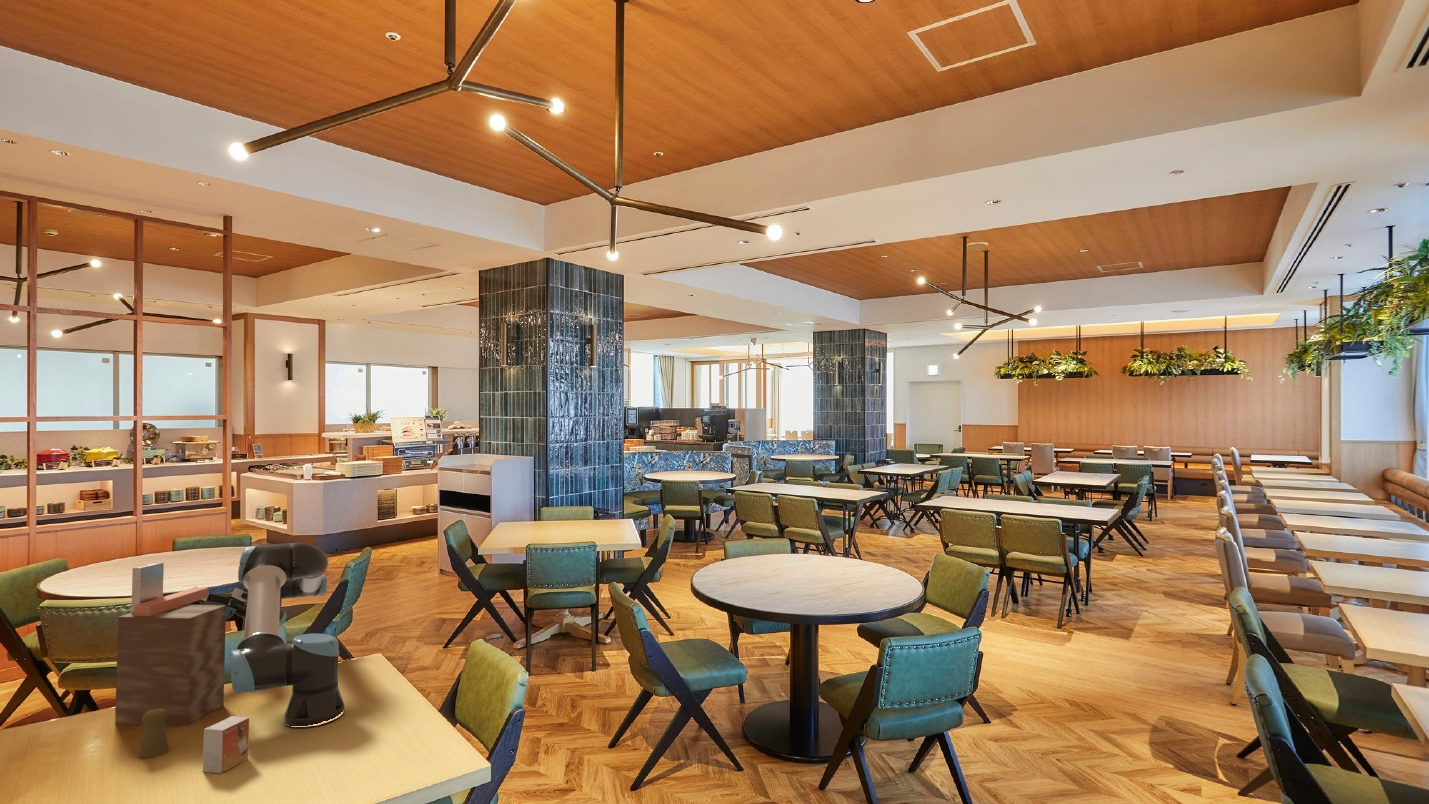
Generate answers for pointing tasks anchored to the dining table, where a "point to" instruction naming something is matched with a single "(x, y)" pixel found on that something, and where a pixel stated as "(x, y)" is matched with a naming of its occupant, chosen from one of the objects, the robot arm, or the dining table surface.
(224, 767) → the small box
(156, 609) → the terracotta clay brick
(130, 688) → the wooden block pedestal
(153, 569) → the bookend
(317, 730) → the dining table surface
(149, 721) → the cork
